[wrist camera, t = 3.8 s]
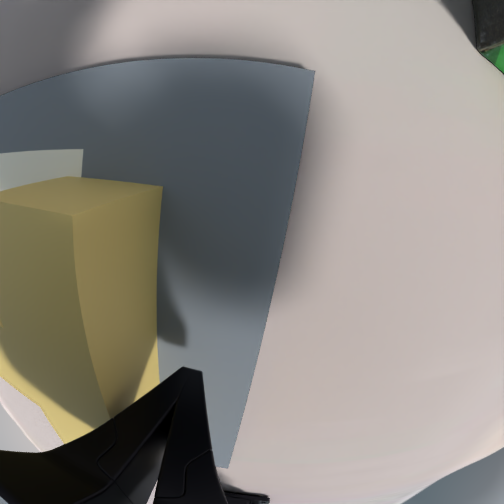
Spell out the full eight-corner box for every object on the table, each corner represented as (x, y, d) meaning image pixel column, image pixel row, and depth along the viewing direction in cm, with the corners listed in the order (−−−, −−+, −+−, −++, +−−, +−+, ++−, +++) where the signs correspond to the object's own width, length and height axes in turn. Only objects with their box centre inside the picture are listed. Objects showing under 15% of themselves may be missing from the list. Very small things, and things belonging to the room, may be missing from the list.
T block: (164, 425, 12) (140, 484, 8) (22, 357, 12) (-10, 390, 8) (162, 186, 7) (72, 215, 4) (-13, 172, 8) (-71, 188, 4)
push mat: (228, 462, 13) (227, 468, 13) (1, 360, 14) (-2, 363, 13) (312, 76, 6) (314, 71, 6) (-36, 115, 7) (-41, 116, 7)
